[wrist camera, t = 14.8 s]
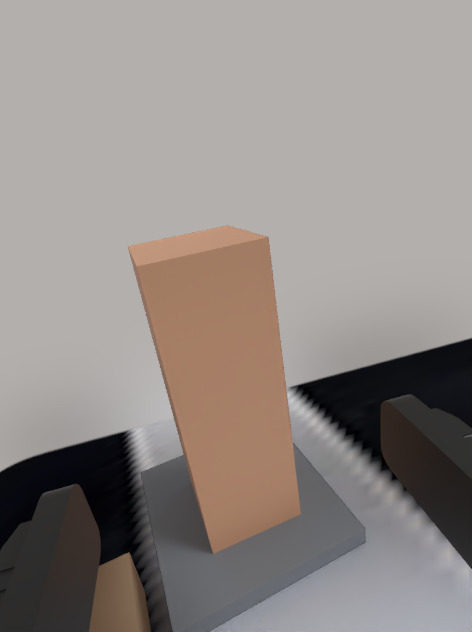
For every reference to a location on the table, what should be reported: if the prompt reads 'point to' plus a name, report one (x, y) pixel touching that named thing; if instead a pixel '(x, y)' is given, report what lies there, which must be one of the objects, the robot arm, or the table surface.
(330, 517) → the slate pad
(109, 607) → the walnut pocket block
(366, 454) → the table surface
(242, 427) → the terracotta block
